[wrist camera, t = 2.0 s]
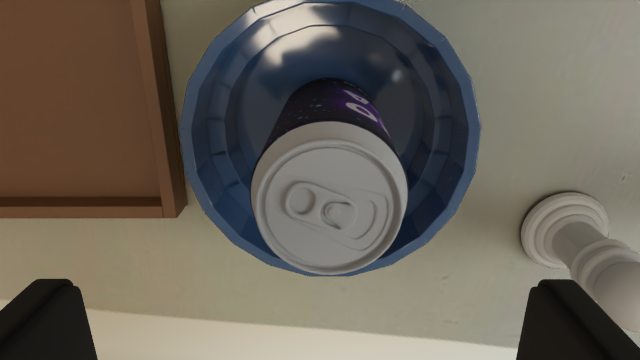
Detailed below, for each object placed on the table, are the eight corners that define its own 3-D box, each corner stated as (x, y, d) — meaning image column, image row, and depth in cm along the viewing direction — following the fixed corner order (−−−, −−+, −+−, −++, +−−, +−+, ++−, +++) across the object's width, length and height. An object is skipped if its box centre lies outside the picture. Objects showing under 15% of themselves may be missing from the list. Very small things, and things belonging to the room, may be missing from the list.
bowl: (461, -8, 23) (500, -15, 17) (437, 228, 28) (462, 277, 23) (197, -5, 23) (159, -11, 18) (222, 228, 28) (198, 276, 23)
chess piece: (501, 228, 28) (576, 320, 19) (571, 173, 26) (686, 247, 18) (549, 276, 29) (640, 383, 20) (619, 227, 27) (747, 320, 19)
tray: (153, -50, 22) (136, -56, 20) (187, 204, 27) (176, 218, 25) (-137, -45, 22) (-181, -52, 21) (-48, 204, 28) (-76, 218, 26)
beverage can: (355, 182, 26) (374, 304, 15) (268, 151, 26) (222, 255, 14) (392, 96, 24) (446, 164, 13) (300, 60, 24) (273, 100, 12)
